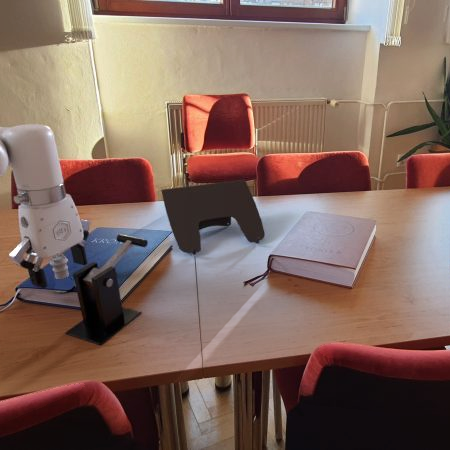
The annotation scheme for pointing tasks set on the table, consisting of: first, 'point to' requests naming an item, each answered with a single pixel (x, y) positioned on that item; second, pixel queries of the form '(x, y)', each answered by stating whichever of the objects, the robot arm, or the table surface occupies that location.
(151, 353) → the table surface
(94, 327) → the bracket
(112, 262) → the lever
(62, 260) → the rook chess piece
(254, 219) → the laptop tray
